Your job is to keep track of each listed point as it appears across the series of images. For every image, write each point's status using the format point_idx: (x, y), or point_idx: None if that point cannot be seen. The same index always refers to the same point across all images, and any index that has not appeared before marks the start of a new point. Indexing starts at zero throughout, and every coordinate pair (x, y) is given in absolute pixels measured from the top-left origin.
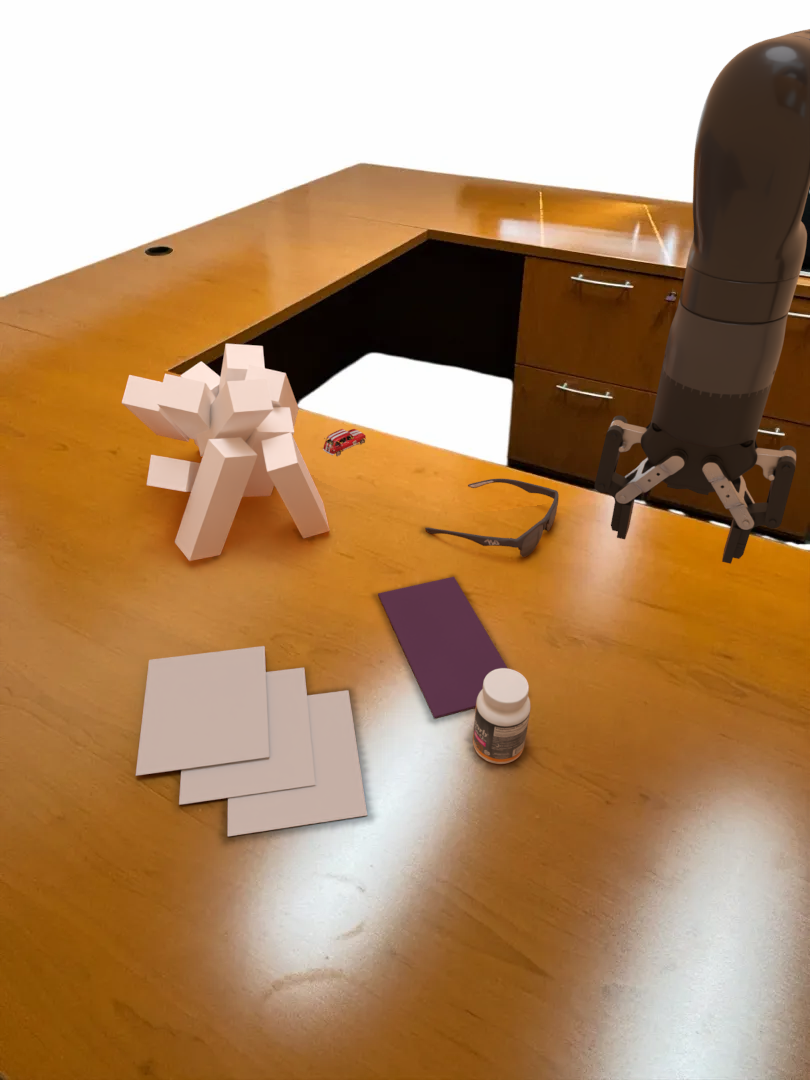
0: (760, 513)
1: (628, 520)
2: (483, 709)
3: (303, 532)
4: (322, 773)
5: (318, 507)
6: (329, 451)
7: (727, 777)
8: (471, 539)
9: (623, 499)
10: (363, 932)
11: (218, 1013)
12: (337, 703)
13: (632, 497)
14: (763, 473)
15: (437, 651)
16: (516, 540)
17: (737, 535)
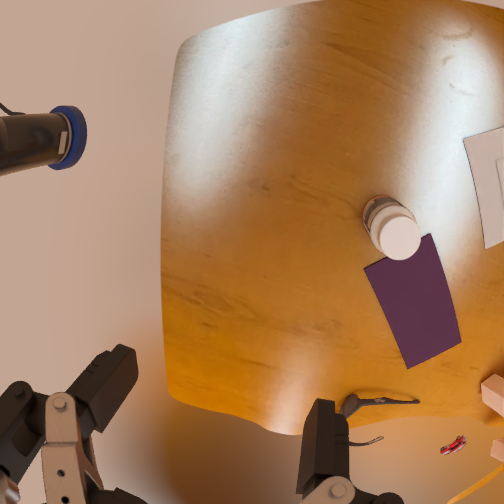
0: (36, 415)
1: (316, 438)
2: (413, 218)
3: (496, 376)
4: (493, 171)
5: (497, 393)
6: (463, 437)
7: (205, 218)
8: (393, 400)
9: (336, 488)
10: (441, 59)
11: (485, 24)
12: (491, 235)
13: (313, 495)
14: (6, 487)
15: (427, 298)
16: (362, 404)
17: (85, 386)
